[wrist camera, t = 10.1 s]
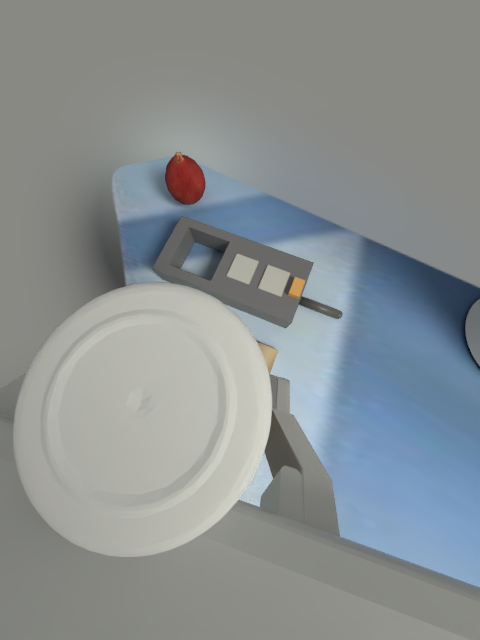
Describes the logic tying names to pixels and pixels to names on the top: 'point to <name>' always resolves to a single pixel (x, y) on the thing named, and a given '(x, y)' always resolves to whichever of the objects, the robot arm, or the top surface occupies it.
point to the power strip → (241, 273)
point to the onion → (184, 179)
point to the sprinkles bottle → (142, 419)
